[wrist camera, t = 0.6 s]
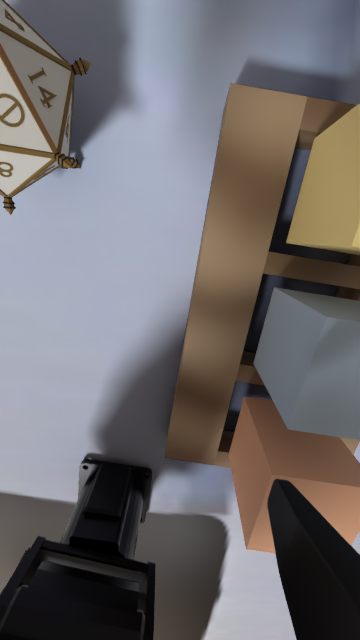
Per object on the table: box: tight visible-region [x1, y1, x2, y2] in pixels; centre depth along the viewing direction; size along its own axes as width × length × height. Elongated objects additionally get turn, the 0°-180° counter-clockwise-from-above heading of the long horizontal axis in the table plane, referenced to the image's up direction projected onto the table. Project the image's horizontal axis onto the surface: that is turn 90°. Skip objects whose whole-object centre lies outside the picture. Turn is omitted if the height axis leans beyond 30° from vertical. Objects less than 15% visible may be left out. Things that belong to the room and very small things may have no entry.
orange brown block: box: [229, 396, 360, 553], centre depth 15 cm, size 5×5×6 cm
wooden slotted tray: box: [165, 83, 360, 468], centre depth 18 cm, size 24×14×2 cm, turn 171°
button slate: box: [253, 287, 360, 440], centre depth 13 cm, size 5×5×6 cm
